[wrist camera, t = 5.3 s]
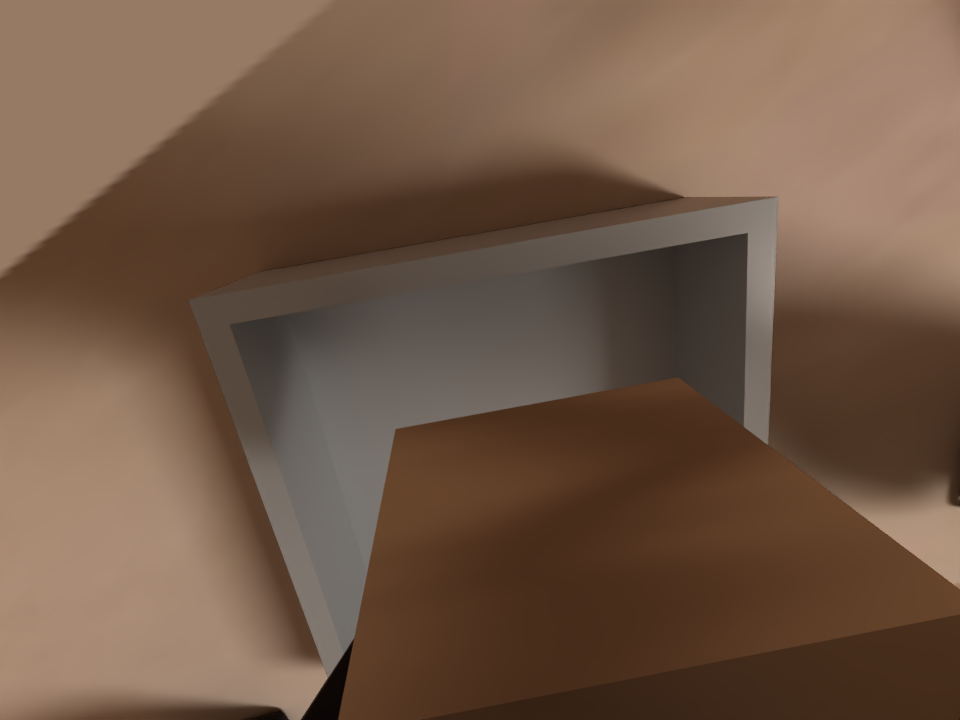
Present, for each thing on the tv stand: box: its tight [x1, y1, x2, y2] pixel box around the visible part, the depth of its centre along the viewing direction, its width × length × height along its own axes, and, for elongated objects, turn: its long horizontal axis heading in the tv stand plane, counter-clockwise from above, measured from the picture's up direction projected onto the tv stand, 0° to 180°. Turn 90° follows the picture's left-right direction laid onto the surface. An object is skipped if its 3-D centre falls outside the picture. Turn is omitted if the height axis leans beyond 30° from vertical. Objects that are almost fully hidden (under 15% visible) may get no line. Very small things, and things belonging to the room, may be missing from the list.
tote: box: [188, 197, 778, 677], centre depth 18 cm, size 16×20×5 cm
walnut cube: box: [338, 378, 960, 720], centre depth 7 cm, size 5×5×5 cm
